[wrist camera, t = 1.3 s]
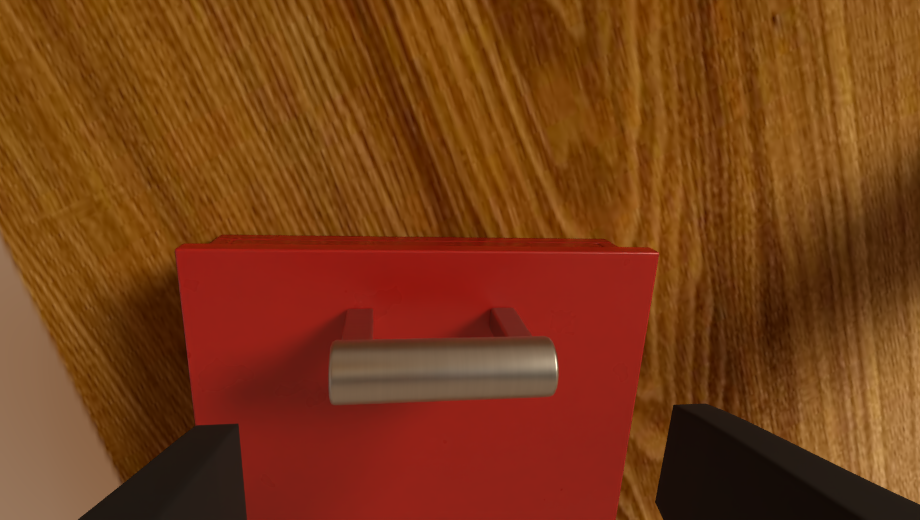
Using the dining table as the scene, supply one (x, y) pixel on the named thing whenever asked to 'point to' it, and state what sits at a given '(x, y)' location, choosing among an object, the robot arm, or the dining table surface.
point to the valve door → (420, 375)
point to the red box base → (409, 241)
